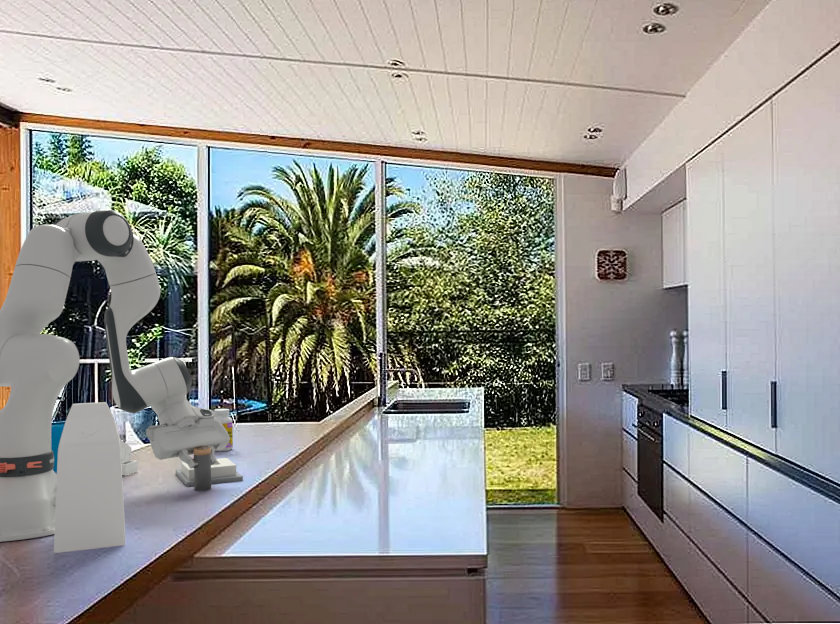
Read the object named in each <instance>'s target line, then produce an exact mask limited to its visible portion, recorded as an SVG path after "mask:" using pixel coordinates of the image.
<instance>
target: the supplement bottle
mask: <svg viewBox="0 0 840 624" xmlns="http://www.w3.org/2000/svg"><path fill="white" fill-rule="evenodd" d="M213 411H214V413H215V417H214V418H215V419H217V420H219V421H220V422H221V423H222V425H223V426H224V428H225V429H226V431H227V433H228V435H229V437H230V440H229V443H228V444H227V446H226V447H225V448H224V449H220V450H215V452H227V451H231V450H233V447H234V445H233V444H234V443H233V442H234V441H233V437H234V434H233V433H234V431H233V419H232V417H230V415H229V414H230V409H229V408H216V409H213Z"/></svg>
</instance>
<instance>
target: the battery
mask: <svg viewBox="0 0 840 624" xmlns="http://www.w3.org/2000/svg"><path fill="white" fill-rule="evenodd" d="M193 459H196V460H197V462H198V466H197V467H196V468H194V486H193V487H194V491H209V490H212V484H211V447H197V448H194V454H193Z"/></svg>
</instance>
